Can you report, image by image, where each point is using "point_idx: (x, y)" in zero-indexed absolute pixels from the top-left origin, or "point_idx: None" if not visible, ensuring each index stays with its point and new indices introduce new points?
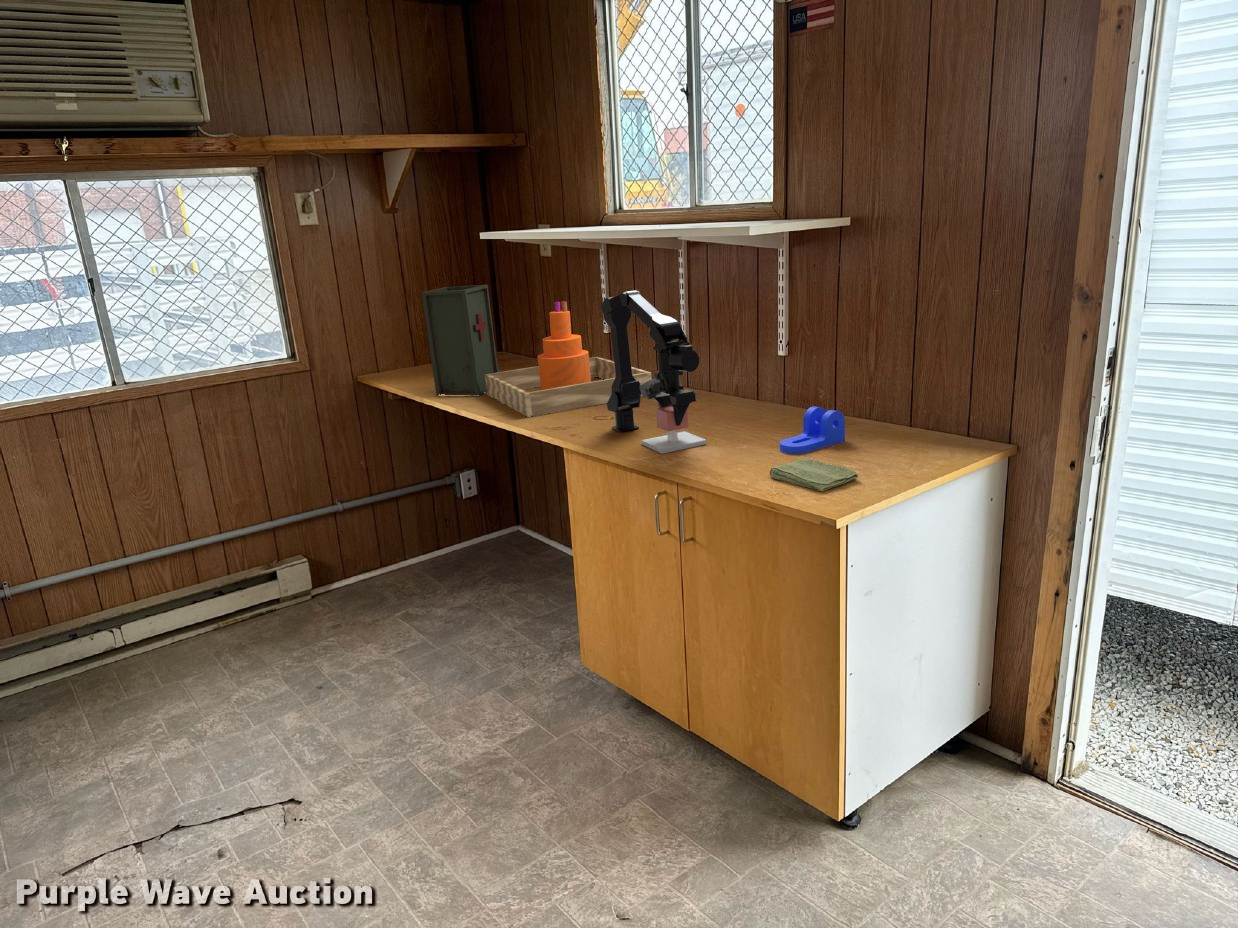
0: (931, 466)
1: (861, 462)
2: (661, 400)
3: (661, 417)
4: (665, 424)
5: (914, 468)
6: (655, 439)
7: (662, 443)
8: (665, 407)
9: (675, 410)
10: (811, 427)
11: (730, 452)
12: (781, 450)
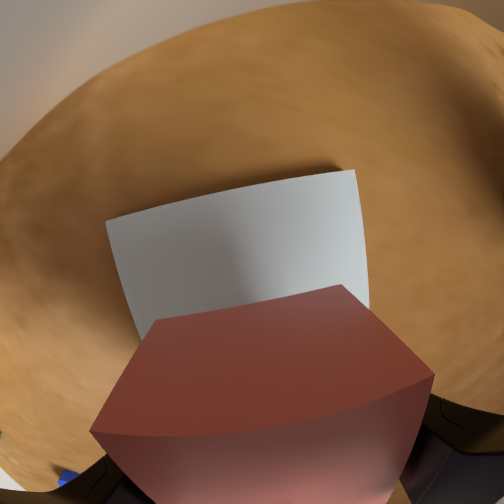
0: (25, 486)
1: (29, 475)
2: (468, 482)
3: (251, 363)
4: (176, 341)
5: (17, 477)
6: (326, 248)
7: (217, 260)
8: (382, 465)
9: (71, 484)
10: None
11: (76, 422)
12: (75, 474)
